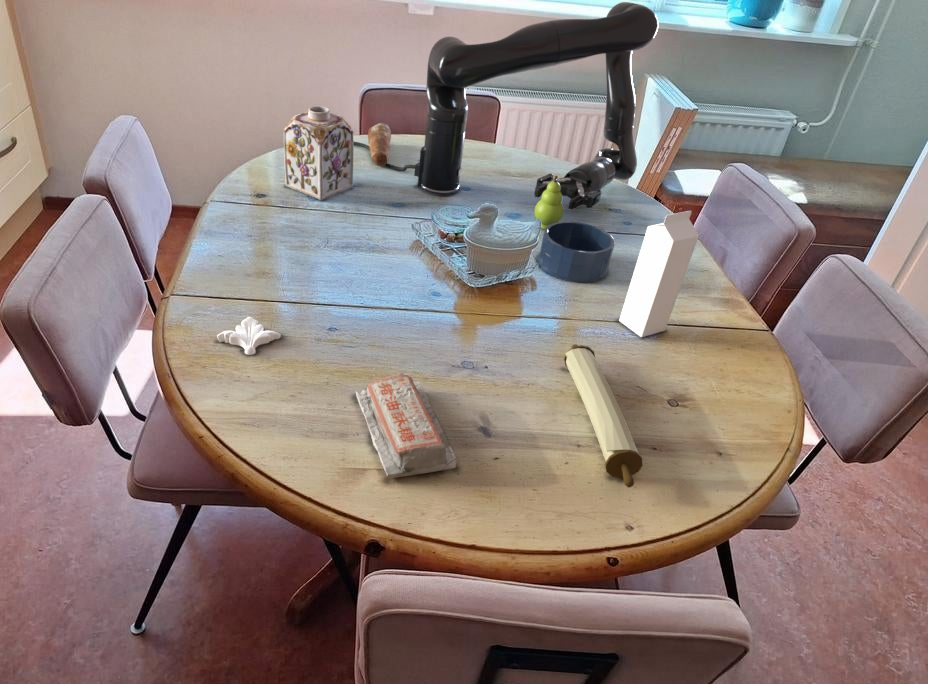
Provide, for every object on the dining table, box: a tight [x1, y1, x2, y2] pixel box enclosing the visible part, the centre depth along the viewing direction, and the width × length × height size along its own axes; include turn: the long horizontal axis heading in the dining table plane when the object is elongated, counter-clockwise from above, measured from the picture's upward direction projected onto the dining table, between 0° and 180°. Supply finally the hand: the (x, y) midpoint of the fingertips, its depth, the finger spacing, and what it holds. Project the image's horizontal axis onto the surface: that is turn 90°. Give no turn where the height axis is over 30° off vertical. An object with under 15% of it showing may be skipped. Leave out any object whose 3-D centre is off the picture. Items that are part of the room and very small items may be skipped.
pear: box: [533, 175, 564, 230], centre depth 155 cm, size 6×6×12 cm
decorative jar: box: [283, 105, 355, 201], centre depth 160 cm, size 12×12×18 cm
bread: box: [367, 122, 392, 167], centre depth 183 cm, size 6×19×6 cm, turn 1°
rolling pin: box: [563, 343, 644, 488], centre depth 104 cm, size 32×6×5 cm, turn 3°
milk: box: [618, 210, 700, 338], centre depth 121 cm, size 6×6×22 cm
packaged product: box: [355, 372, 458, 480], centre depth 98 cm, size 18×5×10 cm
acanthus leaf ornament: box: [216, 316, 281, 356], centre depth 114 cm, size 8×7×2 cm
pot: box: [538, 220, 616, 283], centre depth 142 cm, size 14×14×6 cm
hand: (553, 199), depth 155 cm, fingers open, 8 cm apart
